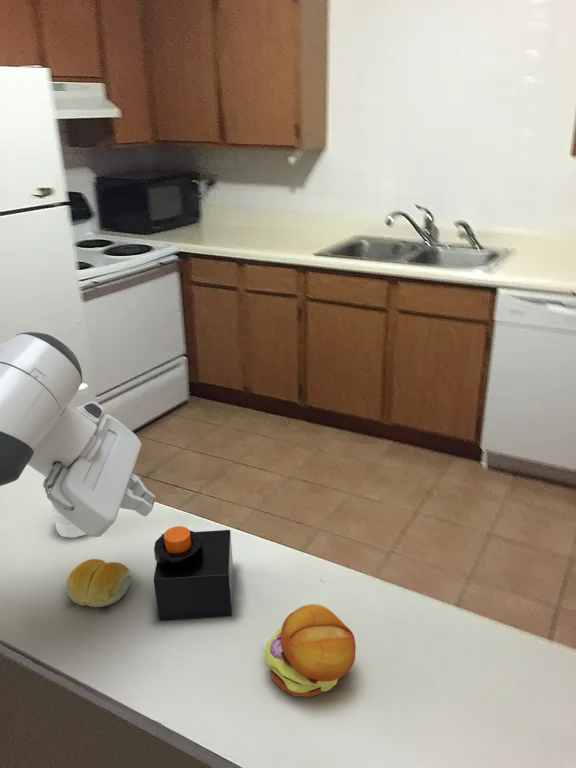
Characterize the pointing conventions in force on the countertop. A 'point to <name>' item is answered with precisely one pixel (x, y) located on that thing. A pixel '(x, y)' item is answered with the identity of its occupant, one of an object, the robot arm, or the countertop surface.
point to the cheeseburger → (310, 651)
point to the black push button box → (195, 577)
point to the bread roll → (98, 583)
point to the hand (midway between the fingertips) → (151, 507)
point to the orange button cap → (177, 539)
